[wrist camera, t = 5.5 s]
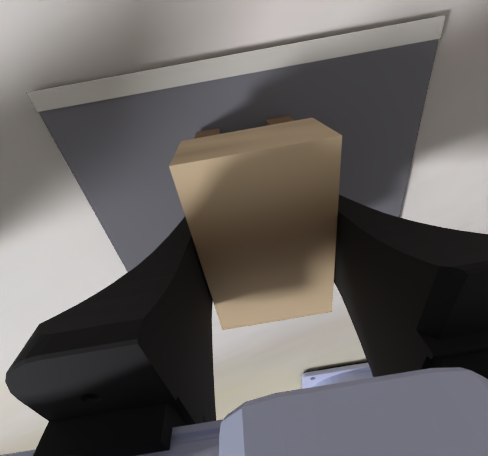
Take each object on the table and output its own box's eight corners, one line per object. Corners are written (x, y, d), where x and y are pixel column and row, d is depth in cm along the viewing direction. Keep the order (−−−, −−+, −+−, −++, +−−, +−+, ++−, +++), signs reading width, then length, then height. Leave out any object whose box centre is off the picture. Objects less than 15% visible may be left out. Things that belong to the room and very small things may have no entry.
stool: (299, 239, 15) (331, 311, 10) (221, 253, 15) (222, 330, 10) (294, 106, 11) (342, 135, 7) (188, 125, 11) (169, 166, 7)
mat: (436, 17, 10) (445, 14, 9) (386, 253, 17) (391, 258, 16) (33, 91, 10) (25, 92, 10) (144, 294, 17) (142, 300, 16)
